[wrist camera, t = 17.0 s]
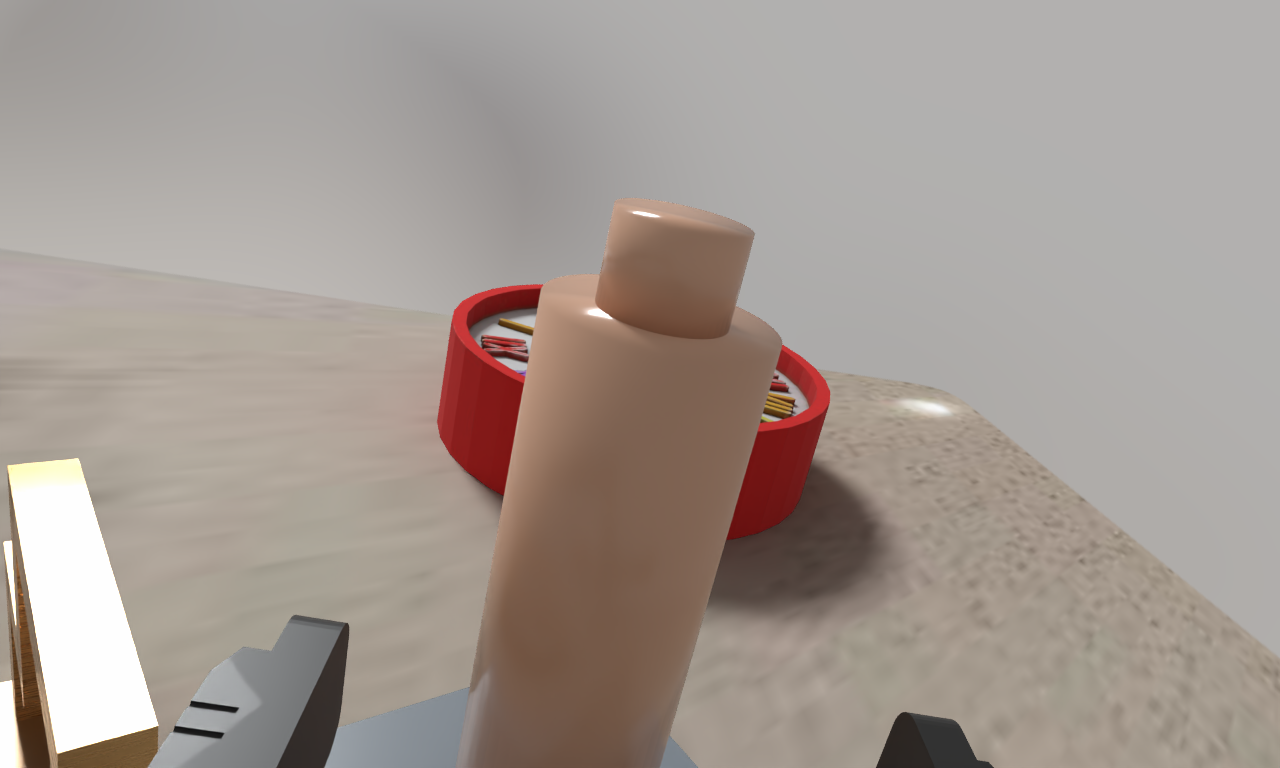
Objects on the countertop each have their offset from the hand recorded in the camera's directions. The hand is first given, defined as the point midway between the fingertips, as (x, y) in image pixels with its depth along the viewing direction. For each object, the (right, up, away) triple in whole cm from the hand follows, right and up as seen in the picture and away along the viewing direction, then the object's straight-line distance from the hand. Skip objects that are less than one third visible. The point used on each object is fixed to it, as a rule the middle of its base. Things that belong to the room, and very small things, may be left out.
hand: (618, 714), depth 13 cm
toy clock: (-1, +1, +35) cm, 36 cm away
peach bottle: (-2, -7, +10) cm, 12 cm away
